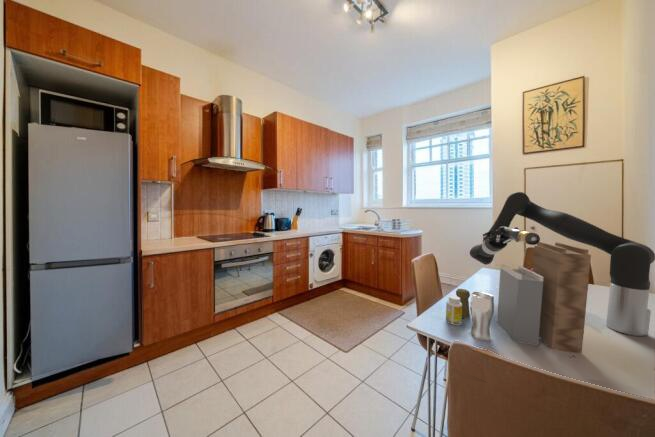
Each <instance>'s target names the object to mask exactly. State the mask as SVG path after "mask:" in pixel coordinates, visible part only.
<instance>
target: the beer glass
mask: <svg viewBox="0 0 655 437" xmlns="http://www.w3.org/2000/svg"><path fill="white" fill-rule="evenodd" d="M494 298H495V297H494V295H492V294H490V293H487V292H484V291H483V292H482V291H473V292H472V293H471V298H470V317H471V321H472V323H471V324H472V325H471V330H470V336H472V337H473V338H475V339H477V340H481V341H489V340H491V333H490V332H491V330H490V329H491V324H492V319H493V317H494V312H495V299H494Z"/></svg>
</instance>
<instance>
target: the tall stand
mask: <svg viewBox="0 0 655 437" xmlns="http://www.w3.org/2000/svg"><path fill="white" fill-rule="evenodd" d="M591 259H592V254H589V249H588V248H587V249H586V248H582V247H578V246H574V245H570V244H565V243H562V242H556V241H555V242H554V244H550V243H547V242H543V241H539V243H537V244H535V245H534V250H533V264H532V271H533V272H535V273H537V274H539V275H541V276H543V290H542V302H541V315H540V328H539V340H541V341H542V342H543V343H544V344H545V345H546V346H547V347H549V348H550V349H551V350H554V351H560V352H561V351H562V352H569V353H575V354H576V353H577V354H582V353H583V344H584V335H585V334H584V332H585V324H586V323H585V321H586V311H587V301H588V293H589V292H588V290H589V279H590V271H591V270H590V269H591Z"/></svg>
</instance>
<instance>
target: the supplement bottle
mask: <svg viewBox="0 0 655 437" xmlns="http://www.w3.org/2000/svg"><path fill="white" fill-rule="evenodd" d="M445 303H446V306H445V307H446V308H445V321H446V322H447V323H448V324H450V325H453V326H461V324H462V319H463V318H462V303H461V302H460V298H459V297H457V295H449V296H448V300H446V302H445Z"/></svg>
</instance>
